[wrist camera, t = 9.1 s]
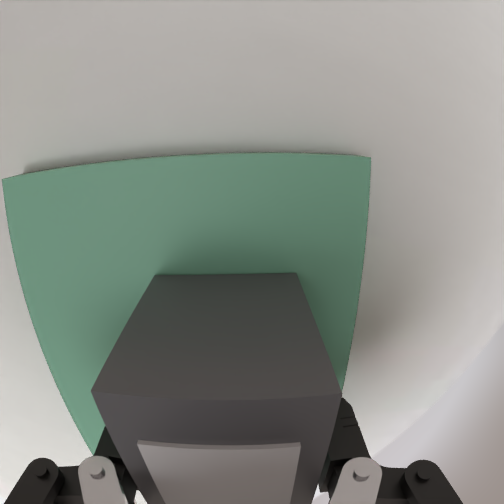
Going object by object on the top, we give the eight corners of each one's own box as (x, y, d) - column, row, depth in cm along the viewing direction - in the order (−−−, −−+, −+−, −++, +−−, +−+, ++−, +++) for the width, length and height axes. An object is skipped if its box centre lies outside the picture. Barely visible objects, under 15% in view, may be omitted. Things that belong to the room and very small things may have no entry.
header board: (22, 174, 11) (-67, 200, 6) (356, 155, 12) (434, 170, 6) (106, 452, 17) (86, 515, 12) (316, 458, 17) (330, 527, 12)
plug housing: (154, 275, 11) (88, 394, 5) (296, 272, 11) (344, 397, 6) (187, 447, 14) (175, 547, 9) (283, 447, 15) (296, 547, 9)
